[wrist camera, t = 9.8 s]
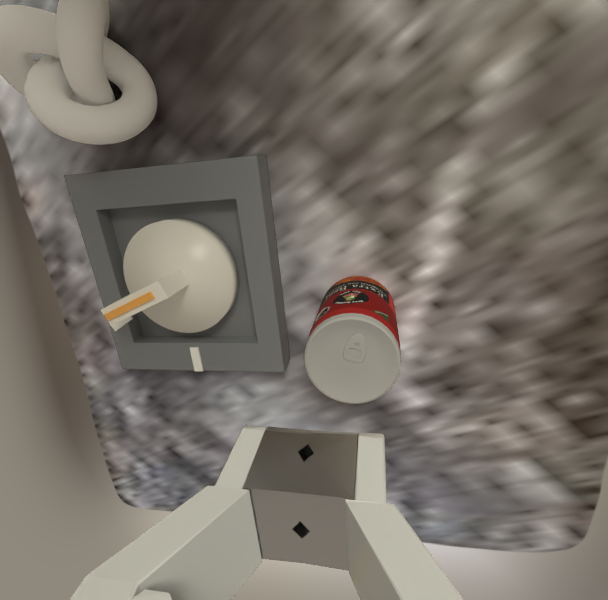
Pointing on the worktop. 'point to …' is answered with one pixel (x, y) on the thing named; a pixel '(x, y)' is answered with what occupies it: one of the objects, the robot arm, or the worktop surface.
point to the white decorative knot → (75, 72)
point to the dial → (177, 276)
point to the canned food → (354, 342)
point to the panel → (217, 216)
